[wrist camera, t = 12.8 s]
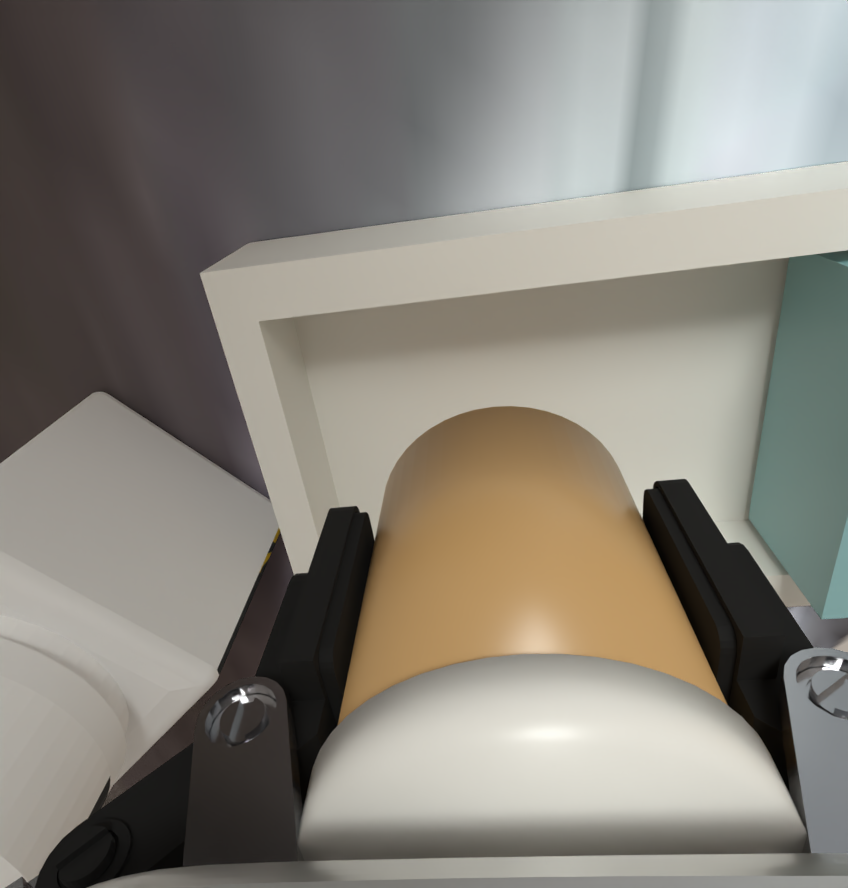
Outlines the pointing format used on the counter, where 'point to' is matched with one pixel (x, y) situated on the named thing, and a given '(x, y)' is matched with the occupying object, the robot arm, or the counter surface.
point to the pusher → (808, 435)
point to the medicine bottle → (109, 609)
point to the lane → (526, 338)
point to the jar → (530, 672)
